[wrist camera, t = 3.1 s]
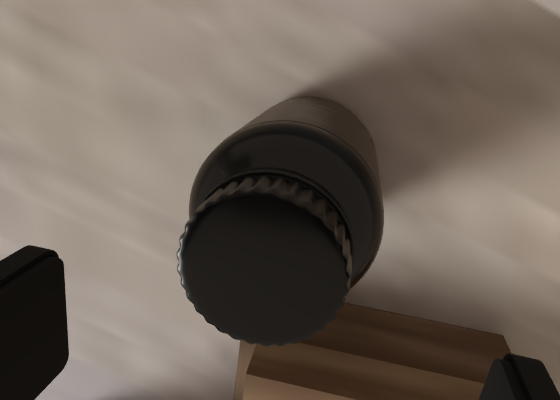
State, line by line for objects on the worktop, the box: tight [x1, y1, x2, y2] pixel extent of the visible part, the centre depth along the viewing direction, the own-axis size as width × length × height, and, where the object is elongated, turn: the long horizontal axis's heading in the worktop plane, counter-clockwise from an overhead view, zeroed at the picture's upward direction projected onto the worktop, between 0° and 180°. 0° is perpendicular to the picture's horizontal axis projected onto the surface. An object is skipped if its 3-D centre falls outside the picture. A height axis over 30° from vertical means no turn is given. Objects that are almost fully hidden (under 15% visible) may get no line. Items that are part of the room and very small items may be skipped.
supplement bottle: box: [177, 97, 384, 347], centre depth 17 cm, size 7×7×12 cm
